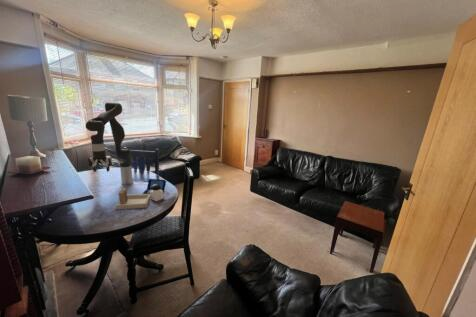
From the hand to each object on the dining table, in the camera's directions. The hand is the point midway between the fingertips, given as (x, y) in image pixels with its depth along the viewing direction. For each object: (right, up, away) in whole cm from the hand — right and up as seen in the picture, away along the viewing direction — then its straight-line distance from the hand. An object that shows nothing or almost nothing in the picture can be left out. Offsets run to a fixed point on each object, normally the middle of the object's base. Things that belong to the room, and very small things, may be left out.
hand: (101, 171), depth 145 cm
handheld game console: (+26, -20, +31) cm, 45 cm away
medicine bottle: (+33, -24, +18) cm, 44 cm away
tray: (+18, -25, +10) cm, 32 cm away
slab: (+11, -25, +9) cm, 28 cm away
